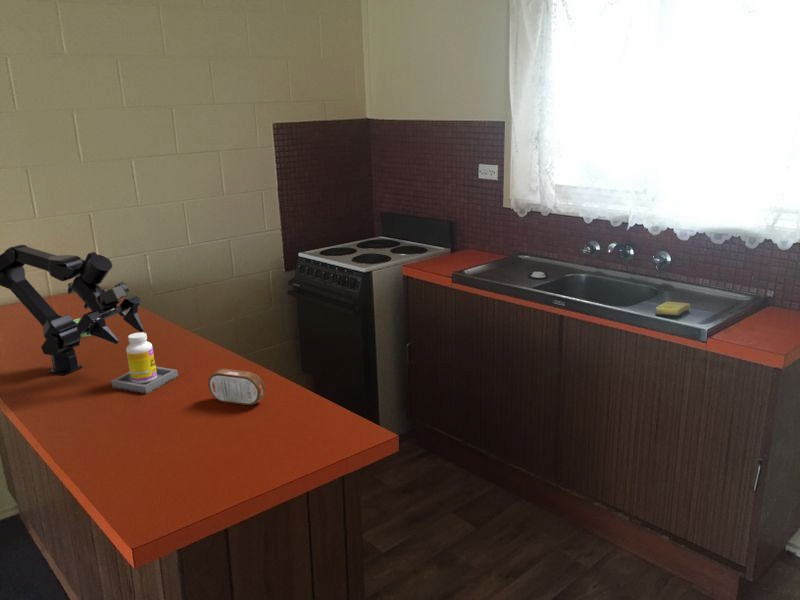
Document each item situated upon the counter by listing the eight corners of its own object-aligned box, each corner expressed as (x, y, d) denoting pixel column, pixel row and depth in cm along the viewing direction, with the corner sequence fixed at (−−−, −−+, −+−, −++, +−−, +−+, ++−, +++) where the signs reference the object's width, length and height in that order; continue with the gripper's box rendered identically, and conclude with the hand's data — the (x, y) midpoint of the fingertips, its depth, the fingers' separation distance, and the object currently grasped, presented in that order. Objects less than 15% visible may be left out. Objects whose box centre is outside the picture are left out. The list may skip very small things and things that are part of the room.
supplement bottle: (156, 382, 182) (149, 337, 179) (130, 386, 181) (122, 340, 177) (158, 373, 188) (151, 329, 185) (132, 377, 187) (125, 333, 183)
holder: (112, 387, 182) (111, 380, 181) (145, 371, 192) (143, 364, 192) (146, 394, 177) (145, 387, 176) (178, 376, 187) (177, 369, 187)
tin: (267, 403, 169) (264, 371, 167) (260, 408, 166) (257, 376, 164) (215, 396, 174) (211, 366, 172) (208, 401, 171) (204, 371, 169)
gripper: (77, 284, 171) (118, 330, 170) (130, 266, 187) (168, 308, 186) (59, 311, 176) (99, 356, 175) (113, 292, 192) (149, 332, 192)
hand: (130, 337), depth 182 cm, fingers open, 9 cm apart
